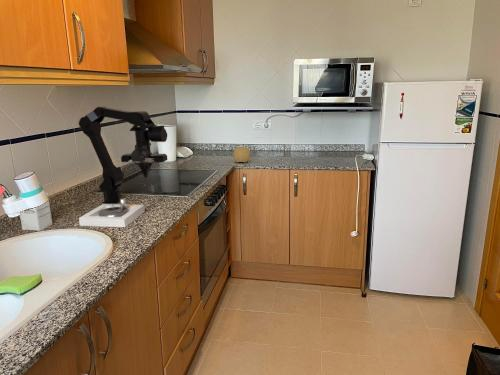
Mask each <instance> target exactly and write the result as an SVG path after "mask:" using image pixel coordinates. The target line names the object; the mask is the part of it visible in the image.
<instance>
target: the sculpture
mask: <svg viewBox="0 0 500 375" xmlns="http://www.w3.org/2000/svg"><path fill="white" fill-rule="evenodd" d="M250 150H251V149H250V148H248V147H246V146H239V147H235V148H233V160H234V162H236V163H239V162H244V163H247V161H248V162H249V161H250V159H251V151H250Z"/></svg>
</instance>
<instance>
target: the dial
mask: <svg viewBox="0 0 500 375" xmlns="http://www.w3.org/2000/svg"><path fill="white" fill-rule="evenodd" d="M119 202H120V203H119V204H121V207H111V208H106V209H103V210H101V211H99V212H98V216H102V217H122V216H123V215H125V214H126V213H128V209H127V208H126V198H125V197H121V199H120V201H119Z"/></svg>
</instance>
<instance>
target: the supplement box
mask: <svg viewBox="0 0 500 375" xmlns="http://www.w3.org/2000/svg"><path fill="white" fill-rule="evenodd" d="M45 193H46V195H47V198H48V201H47V202H46V203H45V204H43V205H41V206H39V207H36V208H33V209H29V210H26V211H24V212H23V213H22V214H21V215H20V214H19V217H20V222H21V224H20V225H21V229H22V231H39V232H41V231H42V230H45V229H47V228H48V227H50V226H52V225H53V219H52V213H51V207H50V205H51V204H50V199H49V193H48V192H45Z"/></svg>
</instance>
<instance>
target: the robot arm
mask: <svg viewBox="0 0 500 375" xmlns="http://www.w3.org/2000/svg"><path fill="white" fill-rule="evenodd" d="M105 118H109V119H113V120H119V121H125V122H127V123H129V124H130V125H132V127H131V128H130V129H129V131H130V132H134V134H135V135H134V136H135V145H134V150H132V152H131V153H124V154H123V155H121V157H120V159H121V160H120V161H121V163H128V162H130V161H132V162H133V163H134V165H137V166H138V167H139V169H140V171H141V173H142V174H143V177H144V179H146V178H148V176H149V173H150V171H151V168H152V165H153V164H154V163H165V162H166V161H168V155H167V154H166V153H156V154H154V155H153V153H152V151H151V146H152V143H164V142H165V143H166V142H167V139H168V132H167V130H166V128H165V125H162V124H161V125H156V124H155V122H154V121H153V119H152V118H151V117H150V114H149V112H148V111H145V110H141V111H139V110H137V111H135V110H134V111H133V110H132V111H129V110H128V111H127V110H122V109H116V108H111V107H107V106H97V107H95V108H94V109H93V110H92V111H90V112H89V113H88V114H85V116H82V117H80V119H79V121H78V125H79V128H80V129H81V131H82V133H83V134H84V135H86V136H87V137H88V138H89V140H90V142H91V145H92V147H93V149H94V152H95V154H96V156H97V159H98V161H99V163H100V165H101V167H102V174H101V175H102V179H103V181H102V182H101V183H100V184H99V185H98V186H99V189H100V191H102V193H103V201H102V204H118V203H119V202H120V199H121V198H122V194H121V190H120V187H122V186H121V185H122V183H123V182H124V180H125V179H124V178H125V177H124V173H123V170H122V168H121V166H118V167H117V166H116V165H115V164H114V161H113V159H112V157H111V155H110V153H109V151H108V148H107V145H106V144H105V141H104V140H103V139H104V138H103V137H102V135H101V134H102V127H101V124H102V122H103V121H104V120H105ZM151 142H152V143H151Z"/></svg>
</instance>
